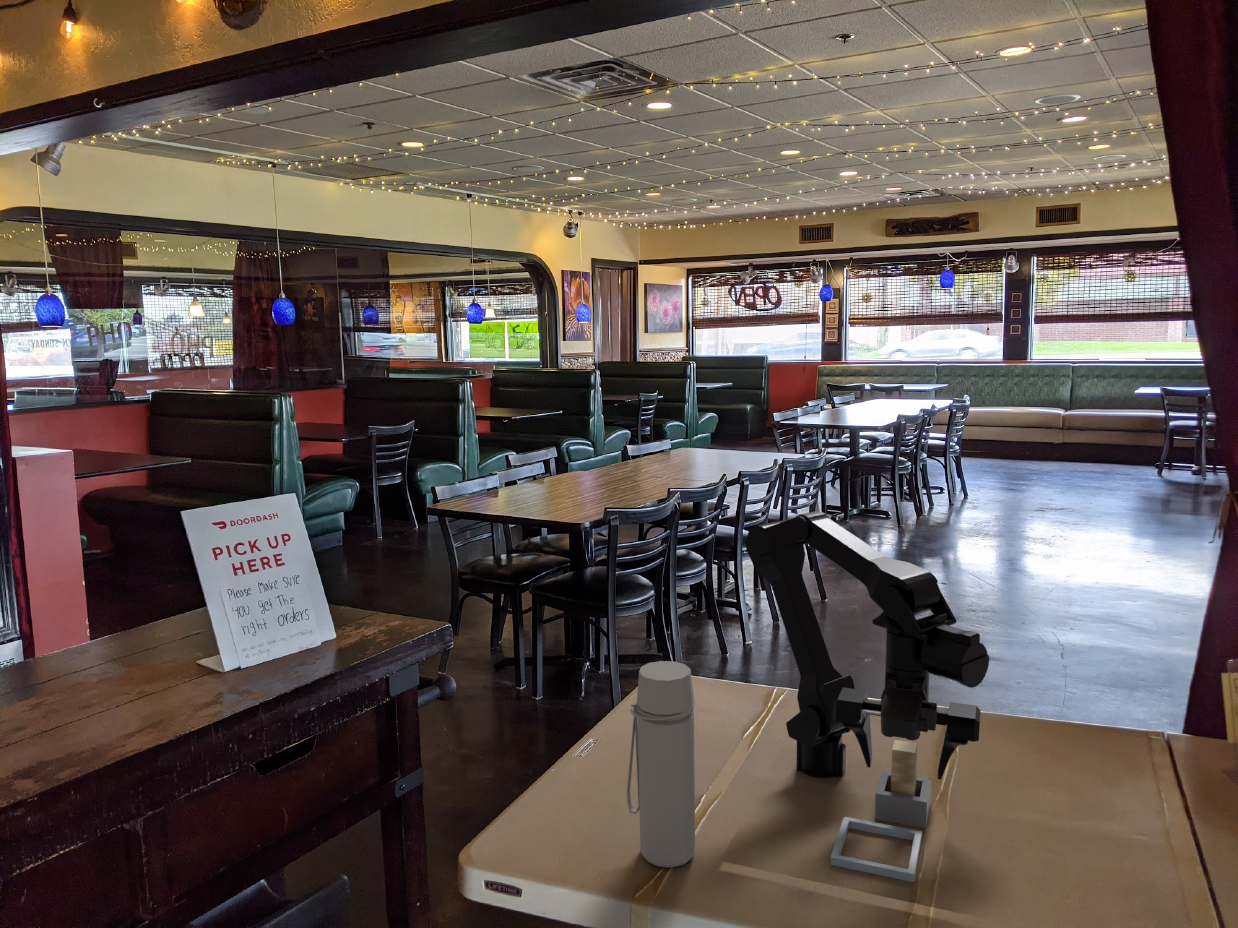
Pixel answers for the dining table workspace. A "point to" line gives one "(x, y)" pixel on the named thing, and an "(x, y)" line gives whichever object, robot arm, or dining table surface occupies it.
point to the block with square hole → (902, 802)
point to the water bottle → (664, 763)
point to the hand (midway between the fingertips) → (903, 772)
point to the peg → (904, 768)
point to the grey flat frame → (872, 866)
